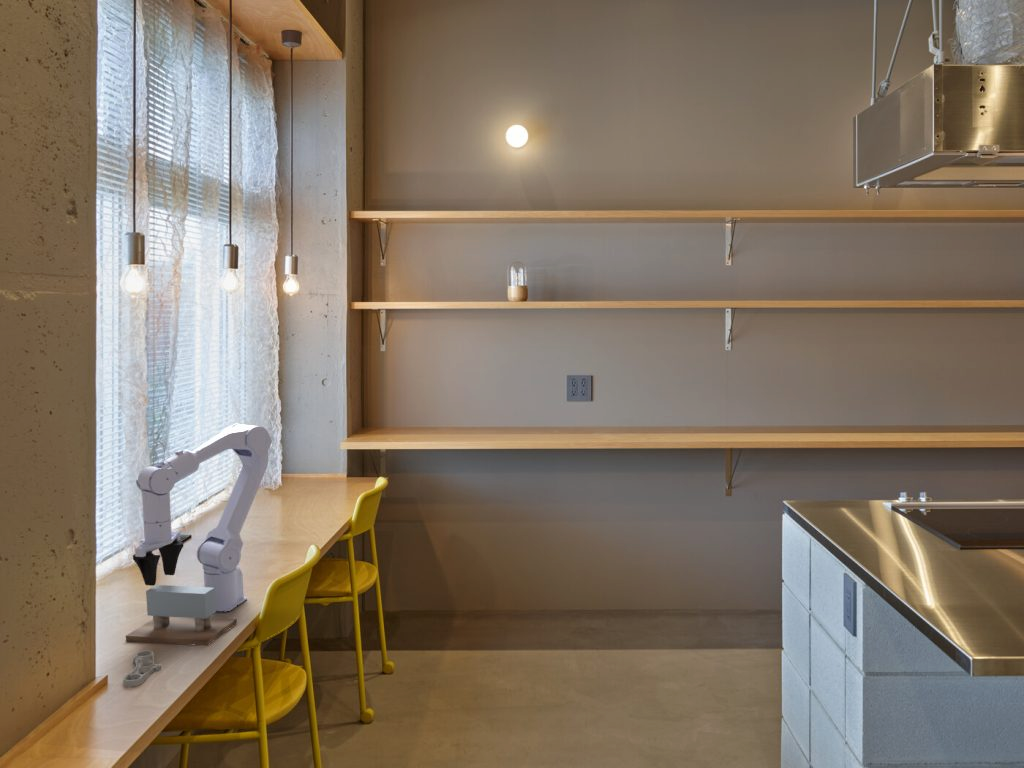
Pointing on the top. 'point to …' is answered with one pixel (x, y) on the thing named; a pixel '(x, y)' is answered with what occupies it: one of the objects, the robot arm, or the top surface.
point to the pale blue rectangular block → (181, 601)
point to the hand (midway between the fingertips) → (160, 579)
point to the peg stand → (181, 630)
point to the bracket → (141, 668)
